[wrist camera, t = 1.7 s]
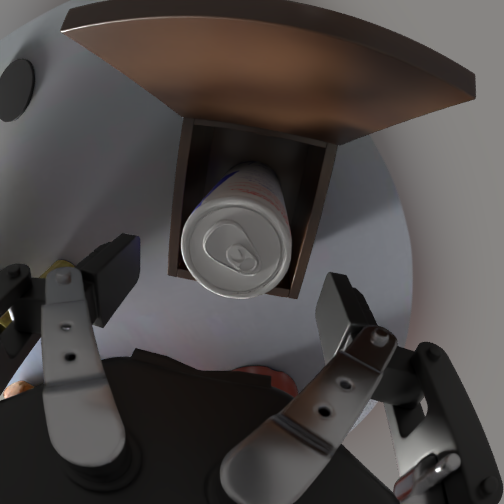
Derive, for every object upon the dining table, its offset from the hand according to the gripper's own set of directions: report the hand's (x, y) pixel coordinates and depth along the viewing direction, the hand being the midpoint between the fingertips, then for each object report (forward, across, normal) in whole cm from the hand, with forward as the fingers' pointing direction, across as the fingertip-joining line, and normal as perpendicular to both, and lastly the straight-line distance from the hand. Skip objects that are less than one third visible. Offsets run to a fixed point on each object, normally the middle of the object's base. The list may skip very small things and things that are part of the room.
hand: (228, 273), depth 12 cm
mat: (+18, +34, -10) cm, 40 cm away
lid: (+2, 0, -7) cm, 7 cm away
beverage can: (+17, 0, 0) cm, 17 cm away
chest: (+18, 0, 0) cm, 18 cm away
